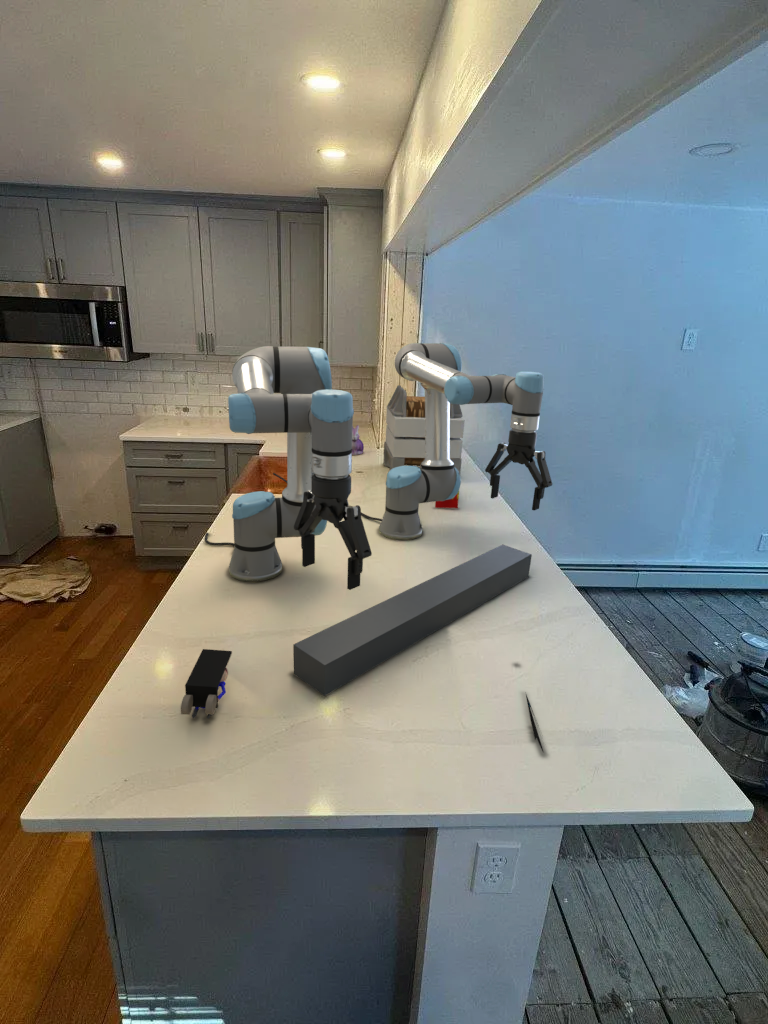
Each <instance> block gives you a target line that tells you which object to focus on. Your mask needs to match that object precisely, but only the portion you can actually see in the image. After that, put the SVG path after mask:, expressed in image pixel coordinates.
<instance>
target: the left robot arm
mask: <svg viewBox="0 0 768 1024" xmlns="http://www.w3.org/2000/svg"><path fill="white" fill-rule="evenodd" d="M231 378H232V382H233V384H234V386H235V388H236V390H237V393H231V394H230V395H228V398H227V404H228V424H229V429H230V431H231V432H233V433H236V434H247V435H252V434H282V433H283V434H286V444H287V445H286V452H287V453H286V461H287V462H286V466H287V469H286V471H287V473H286V475H287V476H286V477H287V480H286V481H287V483H286V487H285V488H284V489H283V490H282V492H281V497H275V496H276V495H274V493H273V492H271V491H264V490H262V491H261V490H259V491H252V492H247V493H245V494H242V495H240V496H238V497H237V498H235V500H234V501H233V503H232V514H231V517H232V520H233V522H232V523H233V542H212V541H209V539H208V537H209V532H206V533H205V535H204V543H206V544H207V545H210V546H231V547H234V548H233V551H232V554H231V558H230V560H229V565H228V571H229V572H228V573H229V575H230V577H232V578H233V579H235V580H238V581H241V582H247V583H248V582H249V583H255V582H265V581H268V580H272V579H274V578H276V577H278V576H279V575H280V574H281V573H282V572H283V562H282V559H281V557H280V554H279V552H278V548H277V547H276V546H277V545H276V539H283V538H284V539H285V538H300V547H301V551H302V555H301V557H302V559H301V560H302V564H301V565H302V567H304V568H306V567H309V566H311V565H315V564H316V548H315V547H316V536H321V535H322V534H323V533H325V530H326V528H327V524H328V522H329V523H330V524H332V525H333V527H334V528H335V529H337V530H338V532H339V534H340V536H341V538H342V540H343V543H344V545H345V547H346V549H347V551H348V553H349V556H350V557H347V585H346V589H347V590H348V591H351V590H354V589H356V588H358V587H361V574H362V573H363V568H364V567H363V565H364V559H366V558H369V557H371V556H372V555H373V553H372V550H371V546H370V543H369V540H368V539H369V538H368V536H367V533H366V529H365V526H364V522H363V520H362V515H361V513H362V510H361V506H360V505H359V504H357V505H350V504H349V497H350V495H351V493H352V476H351V475H350V474H351V473H352V471H353V455H352V426H353V427H354V425H353V421H354V414H355V409H354V397H353V394H351V392H349V391H347V390H346V391H345V390H342V389H333V381H332V380H333V379H332V371H331V364H330V360H329V356H328V354H327V352H326V350H324V349H323V348H320V347H312V346H272V345H265V346H259V347H256V348H253V349H251V350H248V351H246V352H245V353H244V354H242V355H240V356H239V357H238V358H237V360H236V361H235V362H234V364H233V366H232V370H231Z"/></svg>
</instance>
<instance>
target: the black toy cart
mask: <svg viewBox="0 0 768 1024" xmlns="http://www.w3.org/2000/svg"><path fill="white" fill-rule="evenodd" d="M232 653H233V652H232V650H224V649H223V650H222V649H210V648H209V649H208V648H202V650H201V652H200V653H199V656H198V658H197V660H196V662H195V664H194V665H193V667H192V670H191V672H190V675H189V676H188V678H187V681H186V683H185V685H184V688H185V694H184V696H183V697H182V699H181V704H180V714H181V715H190V714H191V712H192V709H193V708H194V709H193V712H192V714H191V718H192V719H193V720H194V719H195V718H197V716H198V713H199V709H204V713H205V715H206V719H207V720H209V719H210V718H211V717H212V715H214V714H215V712H216V710H217V709H218V708H219V702H220V700H221V699H222V698H223V697H224V696H225V695H226V693H227V691H226V681H227V679H228V675H229V671H228V668H227V666H228V664H229V662H230V658H231V656H232ZM219 688H221V692H220V693H219Z"/></svg>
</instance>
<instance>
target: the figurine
mask: <svg viewBox="0 0 768 1024" xmlns="http://www.w3.org/2000/svg"><path fill="white" fill-rule="evenodd" d="M359 428H360V425H359V424H357V425H356V426H355V427H354V425H353V426H352V456H356V455H362V454H364V448H365V447H364V442H363V440H361V438H360V436H361V435H360V434H359Z"/></svg>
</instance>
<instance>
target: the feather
mask: <svg viewBox="0 0 768 1024" xmlns="http://www.w3.org/2000/svg"><path fill="white" fill-rule="evenodd" d="M525 697H526V698H525V699H526V703H527V708H528V714H529V719H530V723H531V728H532V733H533V738H534V740H537V742H538V744H539V746H540V749H541V751H542V753H545V751H544V749H543V746H542V741H541V739H543V737H544V736H543V734H541V735H542V736H539V733H542V730H541V729H539V731H538V728H539V727H540V725H539V723H538V721H537V719H536V716H535V713H534V711H533V708H532V705H531V703H530V700H529V697H528V694H527V692H526V691H525ZM536 725H537V726H536ZM540 737H541V739H540ZM544 744H545V743H544ZM544 746H547V745H546V744H545V745H544Z"/></svg>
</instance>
